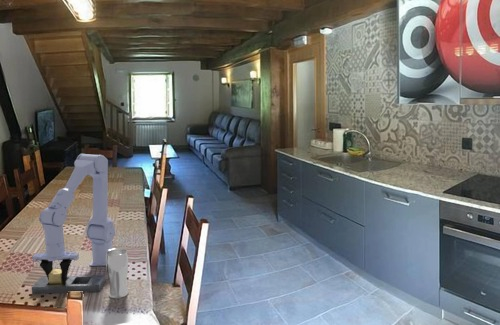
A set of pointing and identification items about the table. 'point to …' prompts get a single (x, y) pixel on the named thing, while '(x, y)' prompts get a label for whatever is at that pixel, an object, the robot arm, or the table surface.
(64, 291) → the rail
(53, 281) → the block
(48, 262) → the robot arm
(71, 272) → the table surface
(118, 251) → the beer glass
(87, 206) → the table surface
